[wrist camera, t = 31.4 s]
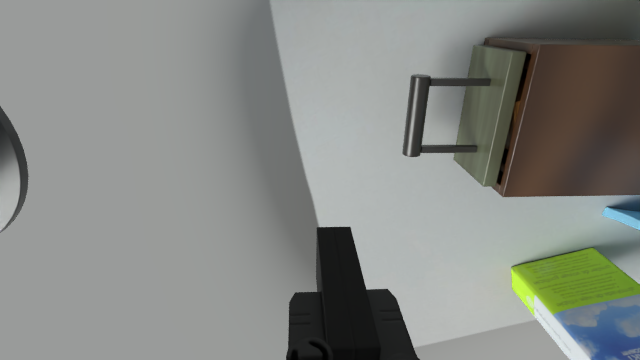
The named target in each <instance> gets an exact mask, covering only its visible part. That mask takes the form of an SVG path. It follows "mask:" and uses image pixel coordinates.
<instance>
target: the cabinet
mask: <svg viewBox="0 0 640 360" xmlns="http://www.w3.org/2000/svg"><path fill="white" fill-rule="evenodd" d="M484 45H487V46H493V47H500V48H506V49H513V50H519V51H525V52H527V53H526V54H531V59H530V63H529V67H528V71H527V76H526V80H525V84H524V88H523V92H522V97H521V101H520V105H519V109H518V113H517V118H516V122H515V126H514V130H513V134H512V139H511V143H510V147H509V151H508V155H507V160H506V164H505V168H504V172H502V171H501V170H499V174H498V178H497V183H496V186H491V187H492V188H493V189H494V190H496V191H497V192H498V193H499V194H500V195H501V196H502V197H529V196H600V195H640V40H620V39H541V38H485V43H484Z"/></svg>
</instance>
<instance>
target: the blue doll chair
mask: <svg viewBox="0 0 640 360" xmlns="http://www.w3.org/2000/svg"><path fill="white" fill-rule="evenodd" d="M602 215H603V216H605V217H608V218H611V219H614V220H617V221H619V222H622V223H624V224H627V225H629V226H631V227H633V228H636V229H638V230H640V212H636V211H629V210H623V209H616V208H609V207H606V208H605V210H604V212H603V214H602Z"/></svg>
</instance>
